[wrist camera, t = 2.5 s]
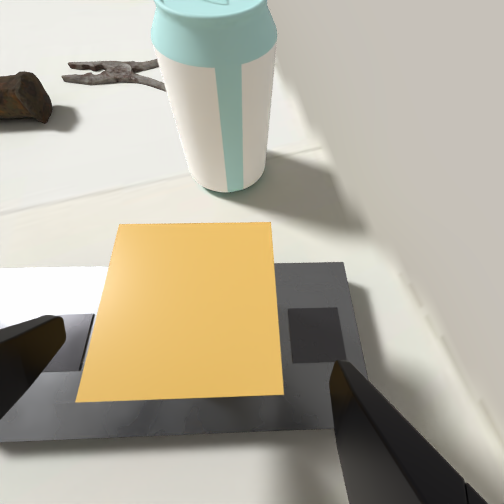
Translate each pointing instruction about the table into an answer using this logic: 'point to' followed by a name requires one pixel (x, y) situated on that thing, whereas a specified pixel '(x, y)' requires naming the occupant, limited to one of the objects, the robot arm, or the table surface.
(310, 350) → the charcoal peg board
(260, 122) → the can
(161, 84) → the pliers
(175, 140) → the table surface
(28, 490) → the table surface
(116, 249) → the amber peg
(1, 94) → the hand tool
